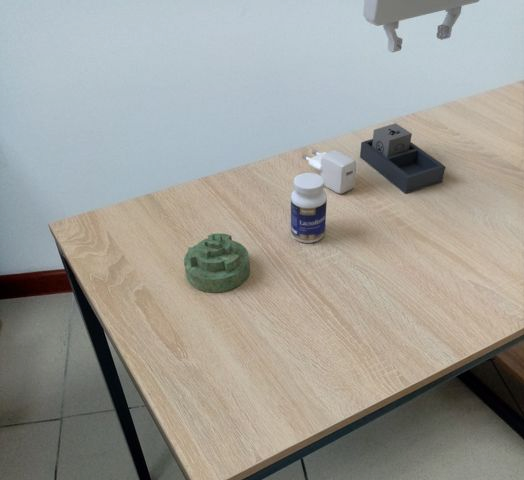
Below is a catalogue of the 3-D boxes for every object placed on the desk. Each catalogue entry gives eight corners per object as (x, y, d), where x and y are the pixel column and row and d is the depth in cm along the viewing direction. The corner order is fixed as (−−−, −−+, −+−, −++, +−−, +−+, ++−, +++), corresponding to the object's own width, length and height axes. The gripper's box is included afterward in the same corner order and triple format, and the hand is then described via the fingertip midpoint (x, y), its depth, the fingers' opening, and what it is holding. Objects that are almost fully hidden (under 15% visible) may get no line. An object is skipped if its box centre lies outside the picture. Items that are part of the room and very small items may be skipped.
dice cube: (386, 165, 101) (389, 140, 97) (371, 154, 104) (373, 129, 100) (407, 158, 102) (411, 133, 98) (392, 148, 105) (395, 123, 101)
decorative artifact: (187, 254, 87) (186, 295, 80) (179, 218, 81) (178, 258, 75) (247, 249, 87) (252, 289, 80) (244, 212, 82) (248, 251, 75)
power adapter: (298, 174, 102) (297, 145, 97) (316, 165, 104) (317, 136, 99) (338, 197, 96) (340, 167, 91) (357, 187, 97) (360, 157, 93)
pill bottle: (300, 248, 86) (300, 193, 79) (285, 229, 90) (283, 176, 82) (331, 238, 88) (334, 183, 80) (315, 220, 91) (316, 167, 84)
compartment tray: (394, 147, 107) (396, 132, 105) (442, 181, 97) (445, 166, 95) (359, 157, 105) (361, 142, 103) (405, 193, 95) (407, 178, 93)
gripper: (383, -46, 71) (374, 64, 82) (504, -70, 76) (482, 36, 86) (358, -53, 76) (353, 52, 86) (475, -77, 80) (457, 26, 90)
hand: (418, 44), depth 86 cm, fingers open, 8 cm apart
